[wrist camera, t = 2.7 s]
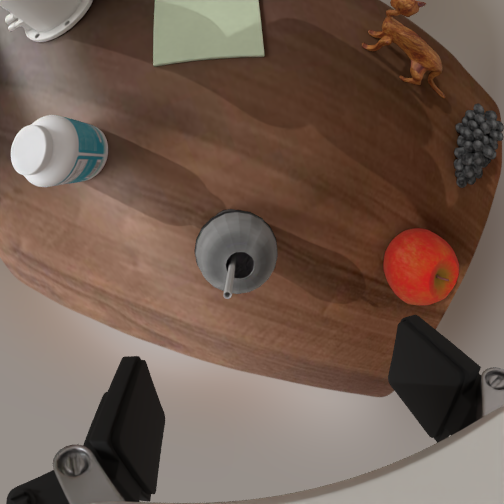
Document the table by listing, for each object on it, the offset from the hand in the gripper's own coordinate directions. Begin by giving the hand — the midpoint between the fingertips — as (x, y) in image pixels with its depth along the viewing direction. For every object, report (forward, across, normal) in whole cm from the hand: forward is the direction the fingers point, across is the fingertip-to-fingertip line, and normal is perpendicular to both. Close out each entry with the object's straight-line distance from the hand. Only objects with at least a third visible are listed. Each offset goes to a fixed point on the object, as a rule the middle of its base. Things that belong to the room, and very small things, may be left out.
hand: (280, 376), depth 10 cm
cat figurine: (+28, -27, -24) cm, 46 cm away
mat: (+28, +1, -33) cm, 43 cm away
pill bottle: (+28, +18, -12) cm, 36 cm away
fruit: (+29, -38, -11) cm, 49 cm away
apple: (+29, -25, +7) cm, 39 cm away
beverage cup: (+29, 0, 0) cm, 29 cm away
